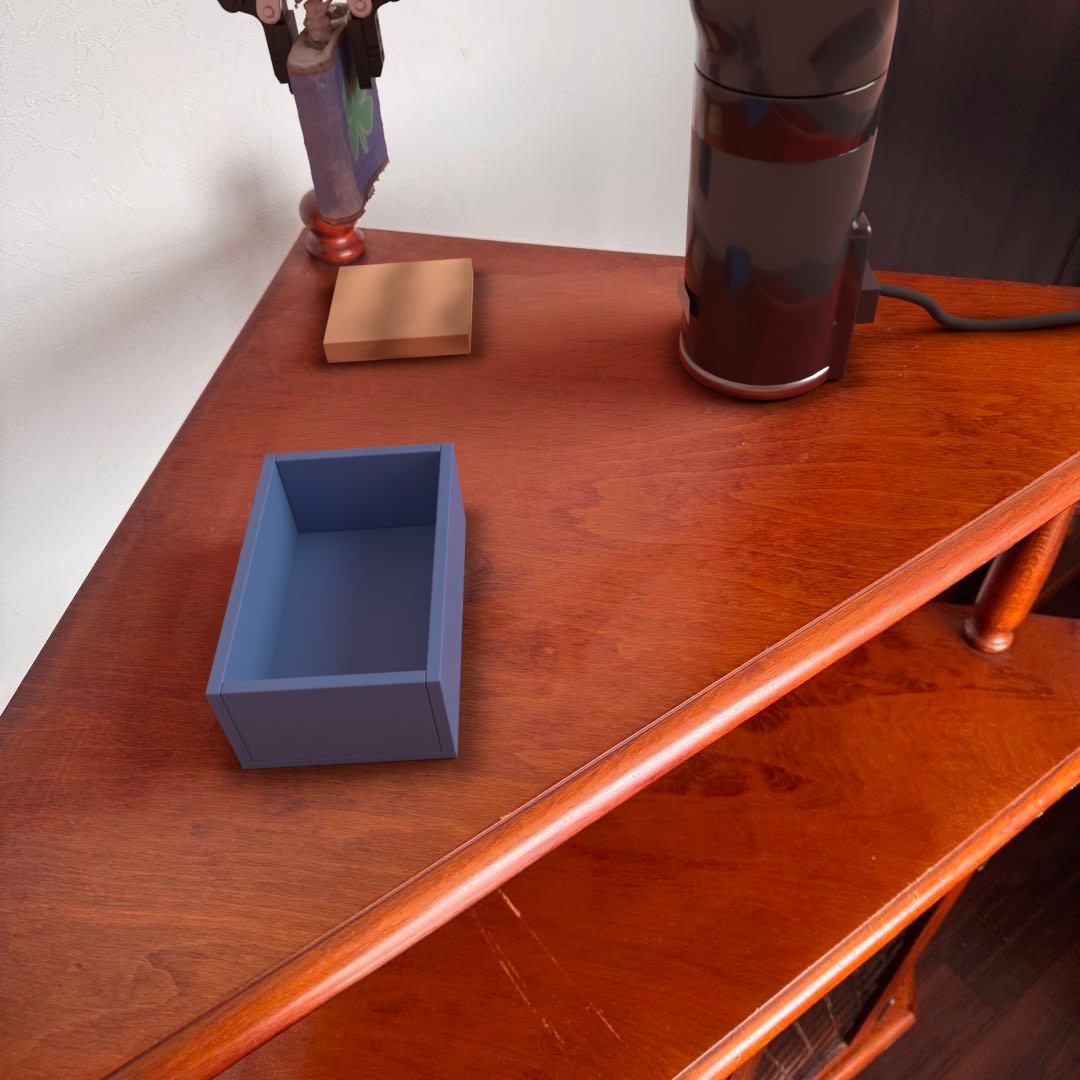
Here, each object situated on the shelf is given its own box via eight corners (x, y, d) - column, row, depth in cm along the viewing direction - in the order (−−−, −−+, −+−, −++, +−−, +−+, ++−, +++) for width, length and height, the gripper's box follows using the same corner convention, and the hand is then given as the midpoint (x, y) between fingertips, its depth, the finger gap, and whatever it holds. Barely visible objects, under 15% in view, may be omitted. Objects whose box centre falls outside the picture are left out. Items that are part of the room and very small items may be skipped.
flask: (358, 229, 57) (315, 26, 49) (307, 228, 57) (257, 28, 49) (396, 154, 63) (364, -35, 55) (350, 154, 63) (312, -34, 56)
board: (473, 276, 69) (471, 257, 68) (470, 354, 63) (467, 334, 62) (343, 285, 70) (339, 266, 68) (327, 363, 63) (322, 343, 62)
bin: (466, 522, 53) (453, 441, 49) (457, 757, 43) (440, 680, 39) (291, 532, 53) (264, 453, 49) (242, 769, 43) (204, 694, 39)
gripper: (62, -298, 41) (193, 124, 53) (410, -326, 40) (460, 106, 53) (112, -322, 46) (221, 68, 58) (420, -347, 46) (464, 51, 58)
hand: (334, 84), depth 55 cm, fingers closed on flask, 3 cm apart
